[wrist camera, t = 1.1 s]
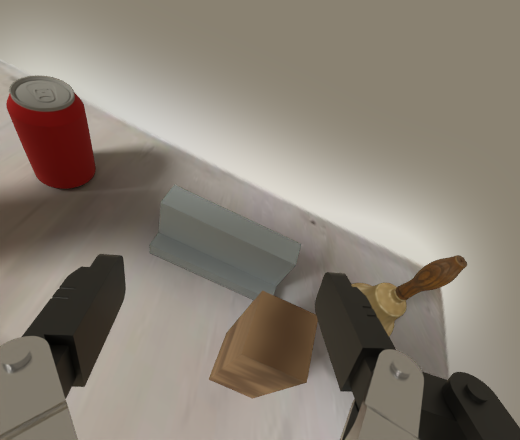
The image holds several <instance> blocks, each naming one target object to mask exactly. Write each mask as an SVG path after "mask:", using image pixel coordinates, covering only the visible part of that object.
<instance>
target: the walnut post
mask: <svg viewBox="0 0 520 440" xmlns="http://www.w3.org/2000/svg"><path fill="white" fill-rule="evenodd" d="M317 322H318V319H317V316H316V315H315V314H313V313H311V312H309V311H307V310H304V309H302V308H300V307H298V306H296V305H293V304H291V303H289V302H287V301H285V300H282V299H280V298H278V297H276V296H274V295H272V294H269V293H267V292H265V291H263V290H262V292H261V293H260V294H259V295H258V296H257V298H256V299H255V300H254V301H253V302H252V303H251V305H250V306H249V307H248V308H247V309H246V311H245V312H244V313H243V314H242V315H241V316H240V318H239V319H238V320H237V321H236V322H235V324H234V325H233V326H232V327H231V328H230V329H229V331H228V332H227V333H226V336H225V338H224V341H223V344H222V346H221V349H220V351H219V354H218V357H217V359H216V362H215V364H214V367H213V370H212V372H211V375H210V377H209V380H211V381H214V382H216V383H218V384H221V385H223V386H225V387H228V388H230V389H232V390H234V391H237V392H239V393H241V394H244V395H246V396H248V397H251V398H255V397H259V396H262V395H266V394H269V393H273V392H276V391H279V390H283V389H286V388H290V387H293V386H297V385H300V384H303V383H307V378H308V372H309V367H310V361H311V356H312V350H313V344H314V339H315V333H316V328H317Z"/></svg>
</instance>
